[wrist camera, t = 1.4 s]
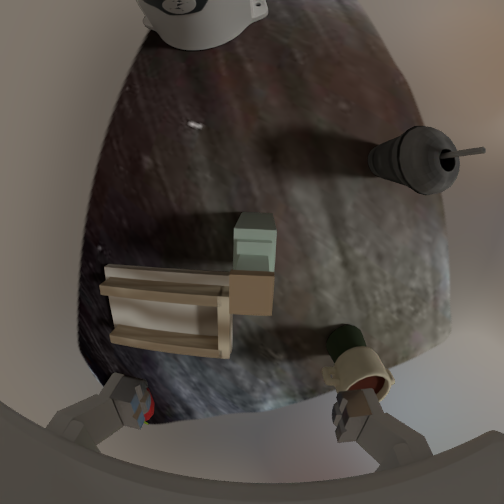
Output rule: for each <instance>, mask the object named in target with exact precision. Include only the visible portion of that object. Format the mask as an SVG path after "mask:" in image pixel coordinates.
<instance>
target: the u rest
mask: <svg viewBox="0 0 504 504" xmlns="http://www.w3.org/2000/svg"><path fill="white" fill-rule="evenodd" d="M104 270H105V277H106V281H104V282H103V283H102V284H100V285H99V286H100V292H101V295H107V296H109V302H110V307H111V312H112V317H113V322H114V327H115V329H114V330H113V331H112V333H111V334H110V339H111V343H115V344H120V345H126V346H131V347H137V348H142V349H149V350H155V351H162V352H169V353H176V354H184V355H192V356H202V357H212V358H223V359H229V357H230V353H232V327H233V314H229V274H230V272H221V271H204V270H188V269H172V268H157V267H143V266H130V265H117V264H108V265H106V266H105V267H104Z"/></svg>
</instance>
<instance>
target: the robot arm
mask: <svg viewBox="0 0 504 504" xmlns="http://www.w3.org/2000/svg"><path fill="white" fill-rule="evenodd" d="M136 1H137V3H138V5H139V7H140V8H141V10H142V11H143V13H144V15H145V17H144V19H143V23H144V25H145V26H146V27H147V28H149V29H151V30H154V31H156V32H157V33H158V34H159V35H160V37H161V38H162V39H163V40H164V41H165V42H166V43H167V44H169V45H171V46H173V47H175V48H179V49H183V50H203V49H209V48H213V47H216V46H219V45H222V44H224V43H226V42H228V41H230V40H232V39H233V38H235V37H236V36H238V35H239V34H240V33H241V32H242V31H243V30H244V29H245V28H246V27H247V26H248V25H250V24H251V23H253V22H255V21H257V20H260V19H262V18H264V17H266V16H267V15H268V7H267V4H266V0H136ZM256 5H261V6H256ZM147 387H148V385H147V381H146V380H144V379H140V378H136V377H132V376H127V375H123V374H119V373H113V374H112V375H111V377H110V378H109V380H108V381H107V383H106V384H105V386H104V388H103V389H102V391H101V392H100V394H99V395H97V394H96V395H93V396H91V397H89V398H87V399H85V400H82V401H80V402H78V403H76V404H74V405H71V406H69V407H67V408H64V409H62V410H60V411H57V413H56V414H55V415H54V417H53V418H52V420H51V421H50V422H49V424H48V425H47V427H46V428H43V427H41V426H40V425H38V424H36V423H34V422H33V421H31V420H29V419H27V418H26V417H24V416H22V415H21V414H19V413H18V412H16V411H14V410H13V409H11V408H10V407H8V406H7V405H5V404H4V403H2V402H1V401H0V504H504V434H502V433H501V432H498V431H495V430H492V431H489V432H486V433H484V434H482V435H480V436H478V437H477V438H474V439H472V440H470V441H468V442H466V443H464V444H461V445H459V446H457V447H454V448H452V449H449V450H447V451H444V452H442V453H439V454H437V455H434V456H433V454H432V452H431V450H430V447H429V446H428V443H427V441H426V439H425V437H424V436H423V435H421V434H420V433H418V432H416V431H415V430H413V429H411V428H410V427H408V426H407V425H405V424H404V423H402V422H400V421H399V420H397V419H396V418H394V417H393V416H391V415H390V414H388V413H384V412H383V410H382V407H381V405H380V403H379V401H378V398H377V396H376V394H375V392H374V390H373V389H372V388H368V389H361V390H360V389H359V390H349V391H339V392H338V394H337V397H336V398H337V402H336V403H335V404H334V406H333V409H332V420H333V424H334V425H335V426H337V428H336V430H335V433H336V437H337V441H338V443H341V442H351V441H356V442H357V443H358V444H359V445H360V446H361V447H362V448H363V449H364V450H365V451H366V452H367V453H368V454H370V455H371V456H372V457H373V458H374V459H375V460H376V461H377V462H378V463H379V464H380V466H379V467H378V468H377V470H376V471H375V472H374V473H369V474H364V475H359V476H353V477H347V478H340V479H333V480H326V481H315V482H300V483H242V482H229V481H217V480H209V479H202V478H195V477H188V476H183V475H178V474H173V473H167V472H163V471H159V470H154V469H150V468H146V467H143V466H139V465H135V464H132V463H129V462H125V461H122V460H119V459H116V458H113V457H110V456H107V455H104V454H102V453H101V452H100V451H99V449H98V448H97V446H96V445H97V444H99V443H100V442H102V441H103V440H105V439H106V438H108V437H109V436H111V435H112V434H113V433H115V432H116V431H118V430H119V429H120V428H122V427H123V425H124V426H128V427H132V428H136V429H141V427H142V425H143V423H144V421H145V417H144V414H146V413H147V412H148V411H149V409H150V405H151V396H150V393H149V392H148V391H147V390H146V389H147Z"/></svg>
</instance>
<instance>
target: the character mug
mask: <svg viewBox="0 0 504 504" xmlns="http://www.w3.org/2000/svg"><path fill="white" fill-rule="evenodd" d="M326 348H327V350H328V352H329V354H330V356H331V358H332V360H333V361H334V363H335V364H334V367H324V368H323V369H322V374H323V378H324V382H325V384H326V385H331V386H335V388H336V391H337V394H338V392H339V391H349V390H359V389H360V390H361V389H368V388H372V389H373V390H374V392H375V394H376V396H377V398H378V401H379V402H380V401H382V400H383V399H384V398H385V396H386V395H387V394H388V393H389V390H390V388H391V385H393V384H395V379H394V378H393V376H392V374H391V372H390V371H389V370H388V369H385V368H384V366H383V364H382V362H381V360H380V358H379V357H378V355H377V354H376V353H375V352H374V351H373V350H372V349H371V348H369V347H366V343H365V340H364V338H363V335H362V333H361V330H360V329H358V328H357V327H355V326H350V325H346V326H343V327H340V328H338V329H337V330H335V331H334V332H333V333H332V334H331V335H330V337H329V338H328V340H327V344H326ZM330 374H332V376H333V378H331V376H330Z"/></svg>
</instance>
